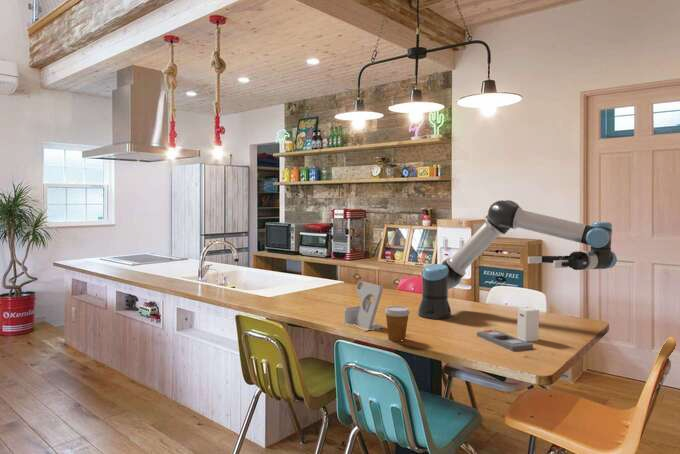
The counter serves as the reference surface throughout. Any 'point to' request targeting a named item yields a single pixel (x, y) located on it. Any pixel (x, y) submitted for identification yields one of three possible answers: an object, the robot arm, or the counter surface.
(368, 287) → the phone holder
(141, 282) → the counter surface
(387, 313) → the disposable coffee cup
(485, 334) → the power strip
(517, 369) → the counter surface
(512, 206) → the robot arm
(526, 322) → the block
